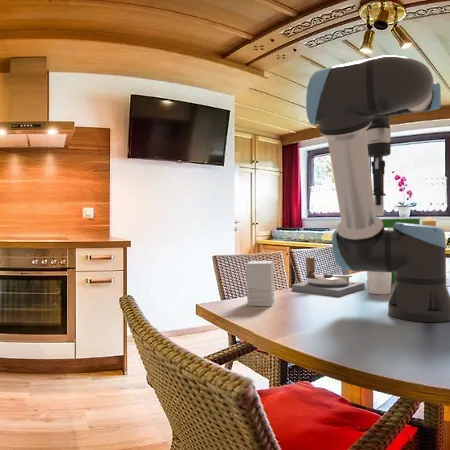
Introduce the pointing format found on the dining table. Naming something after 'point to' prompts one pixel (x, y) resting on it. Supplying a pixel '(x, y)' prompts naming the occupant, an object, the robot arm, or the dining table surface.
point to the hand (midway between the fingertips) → (379, 215)
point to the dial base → (329, 288)
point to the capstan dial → (323, 276)
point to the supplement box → (260, 283)
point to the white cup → (379, 282)
